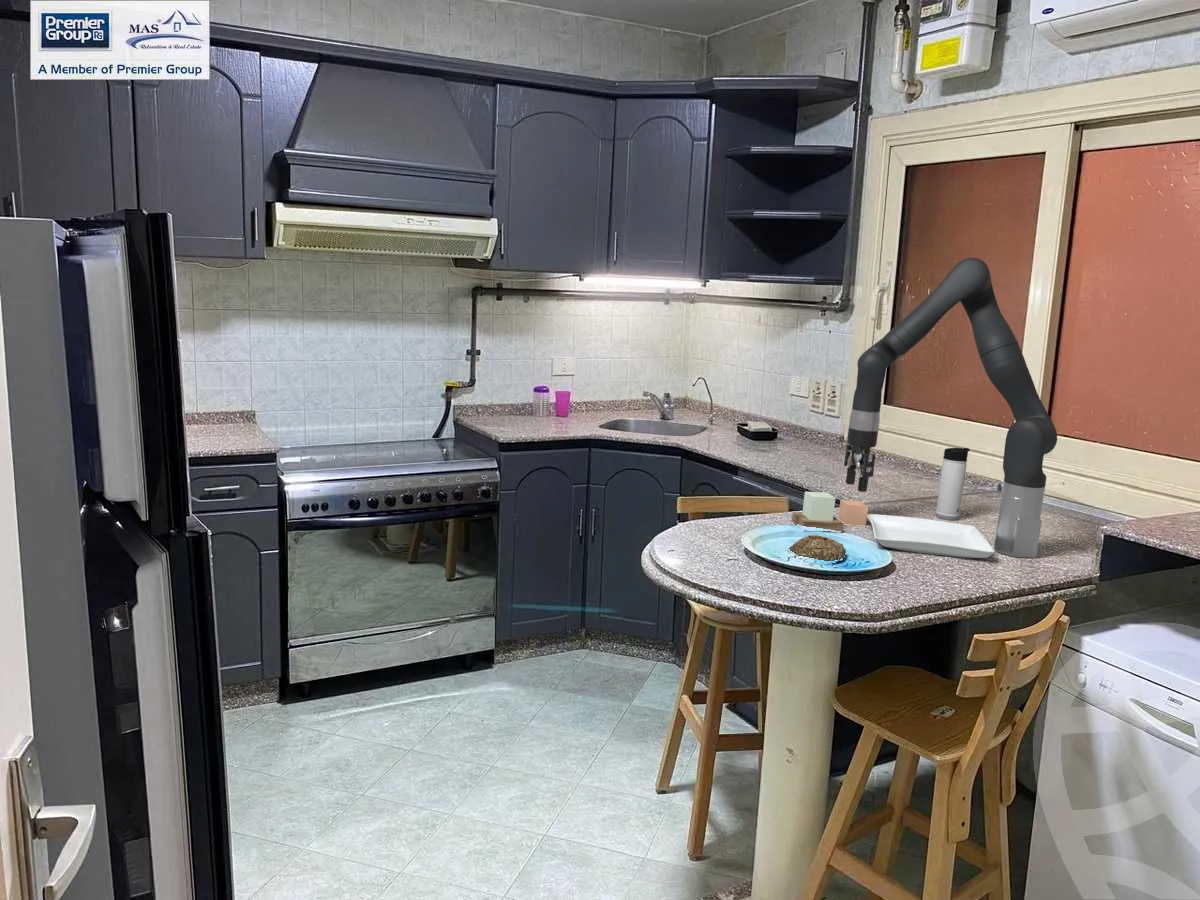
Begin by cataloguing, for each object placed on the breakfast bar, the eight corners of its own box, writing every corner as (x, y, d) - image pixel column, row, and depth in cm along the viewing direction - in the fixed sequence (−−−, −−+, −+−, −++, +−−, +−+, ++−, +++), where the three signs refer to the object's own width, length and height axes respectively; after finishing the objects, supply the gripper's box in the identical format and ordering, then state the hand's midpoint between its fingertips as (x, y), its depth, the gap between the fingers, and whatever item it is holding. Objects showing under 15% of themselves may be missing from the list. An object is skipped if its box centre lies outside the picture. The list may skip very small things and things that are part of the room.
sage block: (832, 520, 239) (835, 497, 238) (810, 519, 238) (812, 496, 237) (824, 514, 245) (827, 492, 244) (802, 514, 244) (804, 491, 243)
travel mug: (963, 521, 260) (973, 450, 256) (939, 519, 260) (949, 448, 256) (955, 515, 266) (965, 446, 262) (932, 514, 266) (941, 444, 263)
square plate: (994, 566, 217) (997, 550, 217) (873, 552, 223) (875, 536, 222) (973, 537, 244) (975, 523, 243) (865, 525, 249) (866, 511, 248)
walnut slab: (842, 532, 237) (843, 523, 237) (804, 531, 236) (805, 521, 236) (828, 522, 247) (829, 513, 247) (791, 521, 246) (792, 511, 246)
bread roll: (851, 556, 217) (854, 535, 216) (836, 568, 207) (838, 546, 206) (798, 545, 223) (800, 525, 223) (780, 556, 213) (782, 535, 212)
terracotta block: (865, 526, 247) (868, 505, 246) (845, 525, 246) (848, 504, 245) (857, 520, 252) (860, 500, 251) (838, 519, 251) (840, 500, 251)
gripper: (888, 433, 238) (880, 494, 241) (866, 423, 252) (859, 482, 255) (860, 431, 238) (852, 493, 240) (840, 422, 251) (832, 481, 254)
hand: (855, 487), depth 248 cm, fingers open, 8 cm apart
